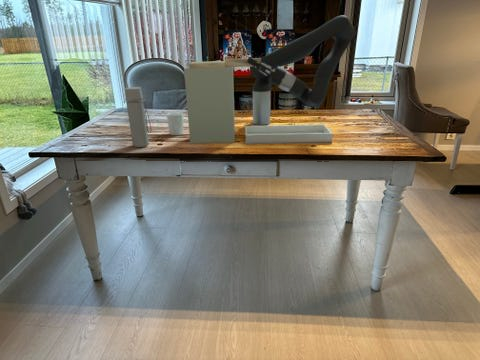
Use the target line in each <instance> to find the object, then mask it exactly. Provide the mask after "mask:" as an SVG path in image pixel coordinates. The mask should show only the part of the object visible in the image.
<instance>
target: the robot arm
mask: <svg viewBox="0 0 480 360" xmlns="http://www.w3.org/2000/svg"><path fill="white" fill-rule="evenodd" d="M355 32H356V30H355V26H354V25H353V23H352V22H351V20H350V18H349V17H348V16H347V15H344V14H343V15H342V14H341V15H338V16H335V17H334V18H332V19H330V20H328V21H327V22H325V23H323V24H322V25H321V26H319V27H318V28H317V27H316V29H313V30H312V31H310V32H308V33H306V34H304V35H303V36H300V37H299V38H296V39H295V40H292V41H290V42H288V43H287V44H285V45H283V46H282V47H279V48H278V49H276V50H274V51H273V52H272V53H269V54H267V55H264V56H262V57H260V58H261V63H259V62H257V61H255V60H254V59H252V58H253V57H251V56H248V58H247V59H248V61H247V62H248V63H249V64H251V65H253V67H249V73H250V75H252V76H253V77H255V81H254V83H253V85H252V124H253V125H255V126H267V125H269V123H271V87H272V85H274V86H275V87H277V88H279V89H280V90H282V91H285V92H287V93H289V94H291V95H292V96H294V97H296V98H297V99H298V100H299V101H300V102H301V103H303V104H304V105H307V106H308V107H316V106H319V105H321V104H322V103H324V101H325V99H326V97H327V94H328V88H329V84H330V82H331V80H332V77H333V76H334V73H335V70H336V69H337V66H338V64H339V62H340V60H341V58H342V57H343V56H344V54H345V52H346V50H347V49H348V47H349V45H350V44H351V42H352V40H353V38H354V36H355ZM330 38H333V40H334V41H333V46H332V48H331V50H330V52H329V53H328V55H327V56H326V57H324V58H323V60H321V62H320V64H319V65H318V67H317V70H316V73H315V75H314V78H313V86H312V88H310V87H308V86H307V85H306V82H304V81H303V80H301V79H299V78H298V77H296V76H295V75H293V73H292V72H289V71H287V70H286V69H284V68H283V67H285V66H288V65H291V64H293V63H294V64H295V63H297V62H298V61H301V60H303V59H306V58H307V57H308V56H310V55H311V54H312V53H313V51H315V49H316V47H318V46H319V44H320V43H322V42H324V41H326V40H329V39H330ZM266 124H267V125H266Z"/></svg>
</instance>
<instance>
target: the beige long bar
mask: <svg viewBox="0 0 480 360" xmlns="http://www.w3.org/2000/svg"><path fill="white" fill-rule="evenodd" d="M251 58H252V59H254V60H255V61H257V62H259V63H261V57H258V58H254V57H251ZM247 61H248V58H226V59H224V60H221V61H220V60H219V61H191V62H189V63H188V67H189V68H225V67H233V68H245V67H246V68H247V67H248V68H250V67H253V65H251V64H249V63H248V62H247Z"/></svg>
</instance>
